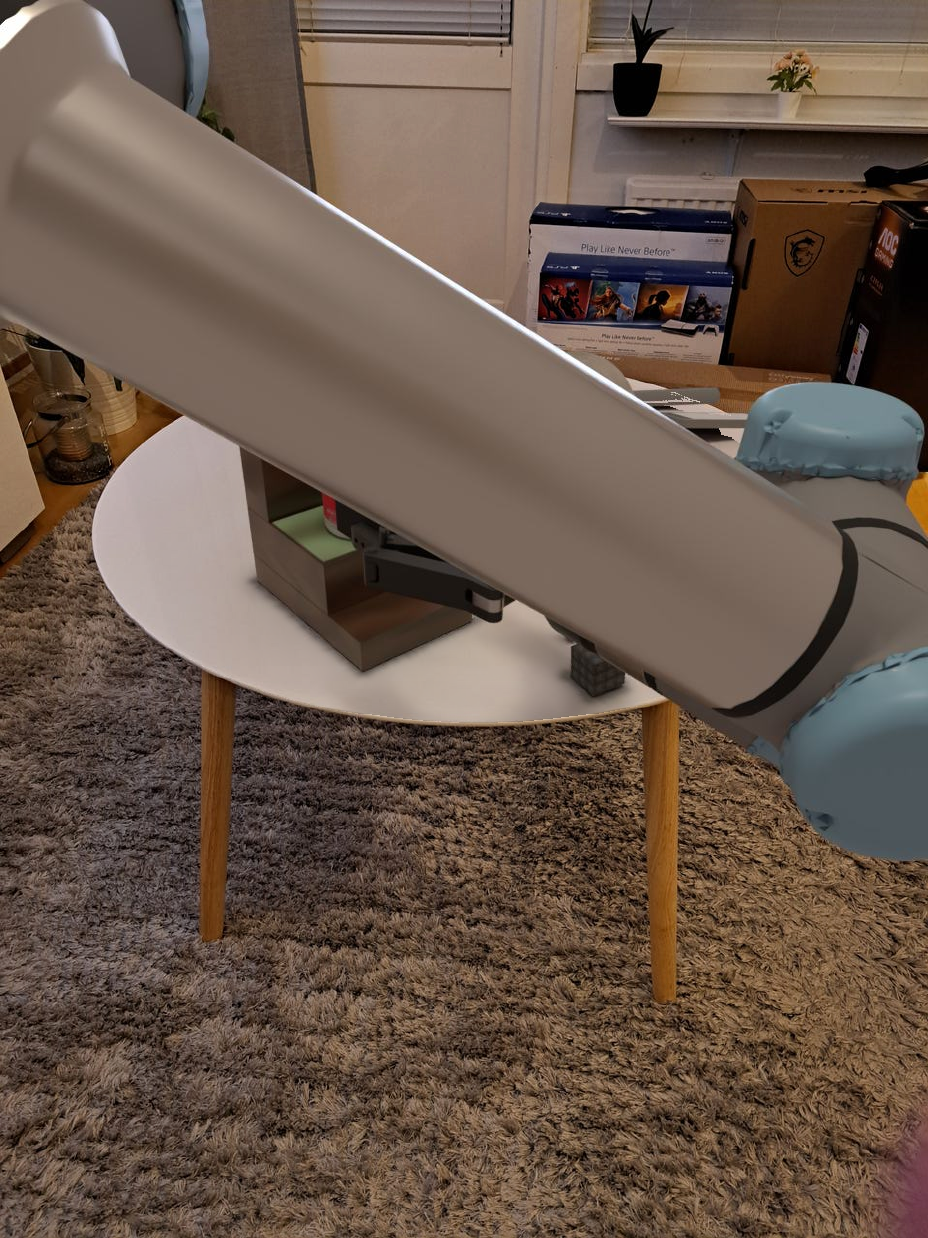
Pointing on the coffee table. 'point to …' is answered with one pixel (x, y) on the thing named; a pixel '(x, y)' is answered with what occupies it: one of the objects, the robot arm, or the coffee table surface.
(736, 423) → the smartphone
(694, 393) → the half round rod
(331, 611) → the step shelf
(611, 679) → the building blocks
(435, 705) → the coffee table surface
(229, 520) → the coffee table surface
